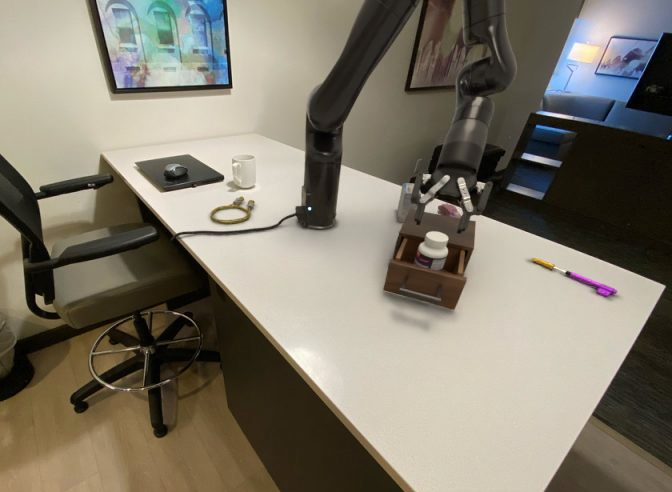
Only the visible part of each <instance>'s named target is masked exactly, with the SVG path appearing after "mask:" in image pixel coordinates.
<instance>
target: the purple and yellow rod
mask: <svg viewBox="0 0 672 492" xmlns="http://www.w3.org/2000/svg"><path fill="white" fill-rule="evenodd" d="M531 258H532V259H531V261H534V262H535V263H536V264H538V265H541V266H543V267H546V268H548V269H550V270H553V269H556V270H557V271H560V272H562V273H564V274H565V275H567V276H568V277H570V278H572V279H575V280H577V281H580V282H582V283H585V284H587V285H589V286H592V287H594V288H597V290H596V292H595V293H596V294H598V295H600V296H603V297H605V298H608V297H609V296H611V295H616V294H617V293H618V290H617V289H615V287H611V286H609V285H606V284H604V283H601V282H598V281H595V280H592V279H591V278H588V277H585V276H582V275H581V274H577V273H575V272H572V271H569V270H566V271H565V270H563V269H560V268H558V267H555V266H556V265H555V264H554V263H551V262H548V261H545V260H543V259H540V258H536V257H531Z"/></svg>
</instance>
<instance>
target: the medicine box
mask: <svg viewBox="0 0 672 492" xmlns="http://www.w3.org/2000/svg"><path fill="white" fill-rule="evenodd" d="M413 187H414V183H413V182H412V183H410V182H409V183H408V182H406V183H405V182H404V183H402V187H401V191H400V195H399V200H398V205H397V209H396V212H397V217H398V222H400V223H404V220H405V218H406V216H407V214H408V212H409V210H410V209H412V210H417V207H418V206H417V205H416V204H413V203H411V194H412V191H413ZM418 196H420V197H422V192H421V190H420V191H419V195H418Z"/></svg>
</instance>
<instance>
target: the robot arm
mask: <svg viewBox="0 0 672 492" xmlns="http://www.w3.org/2000/svg"><path fill="white" fill-rule="evenodd" d="M420 2H421V0H363V2H362V4H361V5H360V8H359V11H358V13H357V15H356V17H355V19H354V22H353V24H352V26H351V28H350V32H349V34H348V37H347V39H346V42H345V45H344V47H343V49H342V51H341V53H340V55H339V57H338V59H337V60H336V62H335V64H334V65H333V67H332V68H331V69H330V71H329V73H328V74H327V75H326V77H325V79H324V80H323V82H321V83H319V84H318V85H316V86H315V87H313V89H312V90H311V91H310V92H309V94H308V97H307V99H306V105H305V131H304V132H305V133H304V169H303V170H304V171H303V172H304V173H303V185H302V186H301V198H300V199H301V201H300V205H296V206H295V212H294V213H292V214H289V215H286V216H284V217H283V218H281V219H280V220H279V221H278V222H277V223H275V224H273V225H271V226H270V225H269V226H265V227H254V228H246V229H239V230H238V229H237V230H190V231H189V230H188V231H180V232H177V233H175V234H174V235H173V236H171V238H170V242H172V241H175V240H176V239H177V238H178V237H180V236H183V235H198V234H199V235H202V234H207V235H209V234H210V235H230V234H241V233H243V234H244V233H251V232H259V231H269V230H273V229H275V228H277V227H279V226H281V224H282V223H284V221H286V220H288V219H291V218H294V217H295V218H296V220H297V222H298V223H302V225H303V227H304V229H305V228H310V229H315V230H326V229H330V228H332V227H334V226H335V225H336V221H337V219H336V218H337V216H338V212H337V210H338V209H337V207H338V197H339V189H340V180H341V171H342V162H343V150H344V149H343V135H344V134H343V133H344V125H345V124H344V123H345V122H346V121H347V119H348V117H349V115H350V113H351V111H352V109H353V107H354V105H355V103H356V101H357V99H358V98H359V96H360V94H361V92H362V90H363V88H364V86H365V85H366V83H367V81H368V80H369V78H370V76H371V75H372V73H373V72H374V71H375V69H376V68H377V66H379V64H380V62H381V61H382V60H383V58H384V57H385V55H386V54H387V53H388V51H389V49H390V48H391V47H392V46H393V44H394V42H395V41H396V39H398V37H399V35H400V34H401V32H402V31H403V30H404V28H405V27H406V25H407V23H408V21H409V20H410V19H411V17H412V16H413V14H414V12H415V10H416V9H417V7H418V6H419V4H420ZM460 2H461V3H460V5H461V22H462V24H461V26H462V40H463V44H464V46H465V47H468V48H473V47H479V46H486V47H487V48H488V50H489V51H490V55H487V56H484V57H481V58H479V59H476V60H473V61H470V62H467V63H466V64H465V65H463V66H462V67H461V68H460V70H459V72H458V73H457V75H456V78H455V107H454V114H453V117H452V120H451V123H450V126H449V129H448V131H447V134H446V136H445V138H444V141H443V145H442V146H441V151H440V154H439V158H438V161H437V164H436V167H435V170H434V171H433V172H432V174H429V173H426V174H425V173H424V171H423V170H419V171H417V173H416V175H415V176H416V177H415V180H414V183H413V184H414V187H413V191H412V194H411V203H413V204H416V205H417V206H418V207H417V210H416V213H415V217H414V221H415V222H417V223H416V225H420V223H421V220H422V217H423V213H424V212H425V210H426V206H427V205H429V204H430V203H432V202H433V201H435V199H437V198H438V199H440V200H449V201H451V202H458V205H459V208H460V209H461V211H462V214H461V216H462V217H461V220H460V223H459V227H458V230H457V233H458V234H461V232H462V231H465V230H466V229H467V227H468V224H469V220H471V217H472V216H476V217H478V216H481V215H482V213H483V211H485V209H486V206H487V203H488V200H489V198H490V195H491V192H492V189H493V186H494V183H493V181H487V182H481V181H478V179H477V176H478V172H479V168H480V165H481V162H482V158H483V154H484V151H485V148H486V145H487V141H488V134H489V130H490V127H491V123H492V120H493V117H494V113H495V109H496V107H495V102H494V101H493V99H491V98H490V97H489V96H492V95H496V94H500V93H503V92H506V91H507V90H508V89H510V88H511V87H512V85H513V84H514V82H515V80H516V77H517V73H518V64H517V60H516V56H515V54H514V50H513V48H512V45H511V42H510V37H509V34H508V29H507V23H506V22H507V21H506V0H461V1H460ZM427 182H429V183H430V186H431V188H430V189H428V190H427V192H426V193H425V194H424V195H423V196H421V197H420V196H418V195H419V191H421V187H422V186H425V185H426V184H427ZM473 190H476V191H477V192H476V194H477V195H479V199H478V200H477V204H476V205H474V206H473V202H472V200H471V195H470V193H471V192H472V191H473Z"/></svg>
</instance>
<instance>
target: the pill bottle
mask: <svg viewBox="0 0 672 492" xmlns="http://www.w3.org/2000/svg"><path fill="white" fill-rule="evenodd" d="M447 242H448V236H447V235H445V234H443V233H441V232H435V231H432V232H428V233H427V234H426V237H425V242H422V243H421V244H420V245H419V248H418V251H417V255H416V258H415V261H414V265H417V266H421V267H425V268H429V269H434V270H438V271H442V268H443V266H444V263H445V260H446V257H447V254H448V249H447V247H446V245H447Z"/></svg>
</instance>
